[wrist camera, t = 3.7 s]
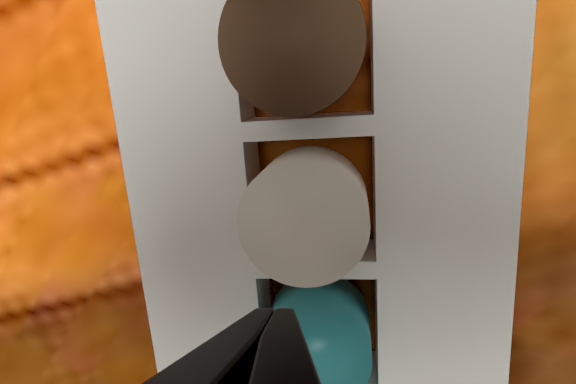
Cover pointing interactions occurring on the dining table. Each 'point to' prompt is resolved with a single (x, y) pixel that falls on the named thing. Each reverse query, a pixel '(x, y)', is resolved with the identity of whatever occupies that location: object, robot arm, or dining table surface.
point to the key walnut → (292, 52)
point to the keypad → (386, 176)
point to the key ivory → (305, 217)
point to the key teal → (333, 329)
